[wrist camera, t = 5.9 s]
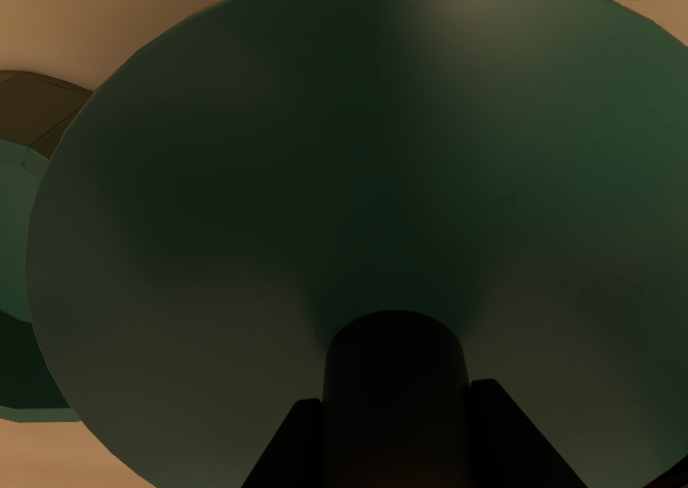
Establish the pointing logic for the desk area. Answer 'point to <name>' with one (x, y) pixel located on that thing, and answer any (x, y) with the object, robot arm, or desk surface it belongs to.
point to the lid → (375, 240)
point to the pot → (11, 236)
